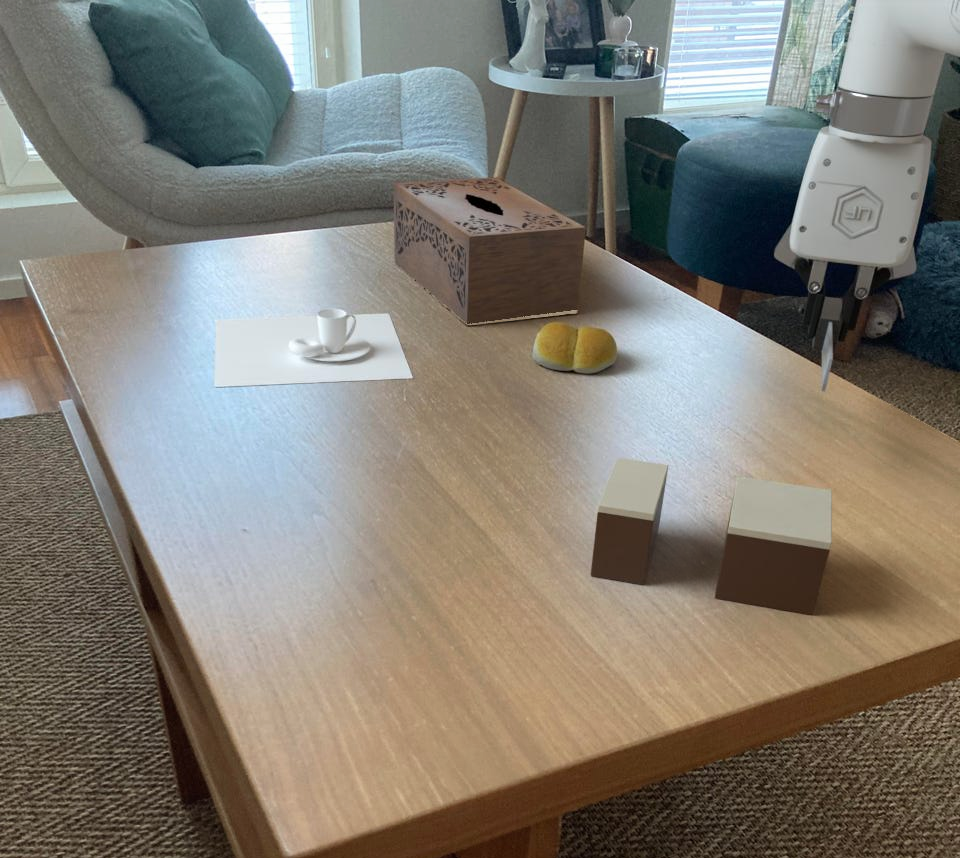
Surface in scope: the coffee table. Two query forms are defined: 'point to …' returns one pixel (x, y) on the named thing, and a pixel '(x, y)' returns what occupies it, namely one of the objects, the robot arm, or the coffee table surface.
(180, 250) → the coffee table surface
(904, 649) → the coffee table surface
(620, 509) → the cake slice
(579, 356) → the bread roll
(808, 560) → the cake
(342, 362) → the teacup and saucer
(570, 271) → the tissue box cover
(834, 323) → the knife
